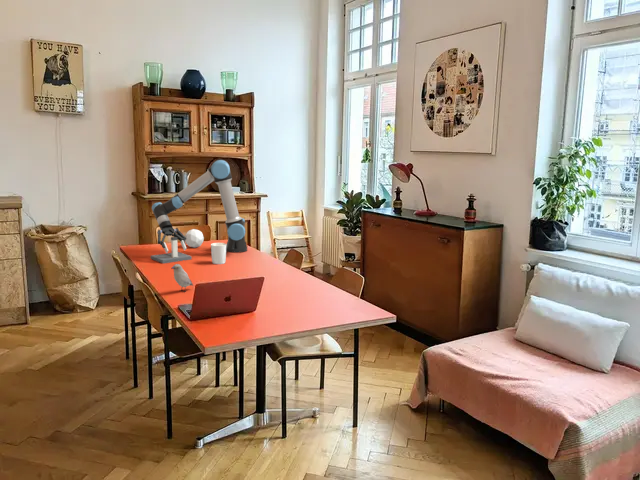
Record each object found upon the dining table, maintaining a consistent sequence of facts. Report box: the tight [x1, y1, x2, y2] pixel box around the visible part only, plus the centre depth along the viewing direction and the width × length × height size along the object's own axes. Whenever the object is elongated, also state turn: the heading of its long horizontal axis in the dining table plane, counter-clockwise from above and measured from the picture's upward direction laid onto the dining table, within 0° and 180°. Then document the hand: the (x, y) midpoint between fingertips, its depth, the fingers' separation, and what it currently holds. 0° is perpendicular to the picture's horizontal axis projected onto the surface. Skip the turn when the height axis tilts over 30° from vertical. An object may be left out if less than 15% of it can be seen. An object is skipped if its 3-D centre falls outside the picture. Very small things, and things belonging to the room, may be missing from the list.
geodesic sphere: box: [184, 228, 205, 249], centre depth 385 cm, size 14×14×14 cm
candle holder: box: [210, 242, 227, 265], centre depth 339 cm, size 10×10×12 cm
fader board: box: [150, 251, 193, 264], centre depth 346 cm, size 20×17×2 cm
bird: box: [171, 263, 194, 293], centre depth 274 cm, size 5×14×15 cm, turn 142°
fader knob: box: [170, 236, 179, 258], centre depth 341 cm, size 3×3×13 cm
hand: (176, 250), depth 340 cm, fingers open, 12 cm apart
